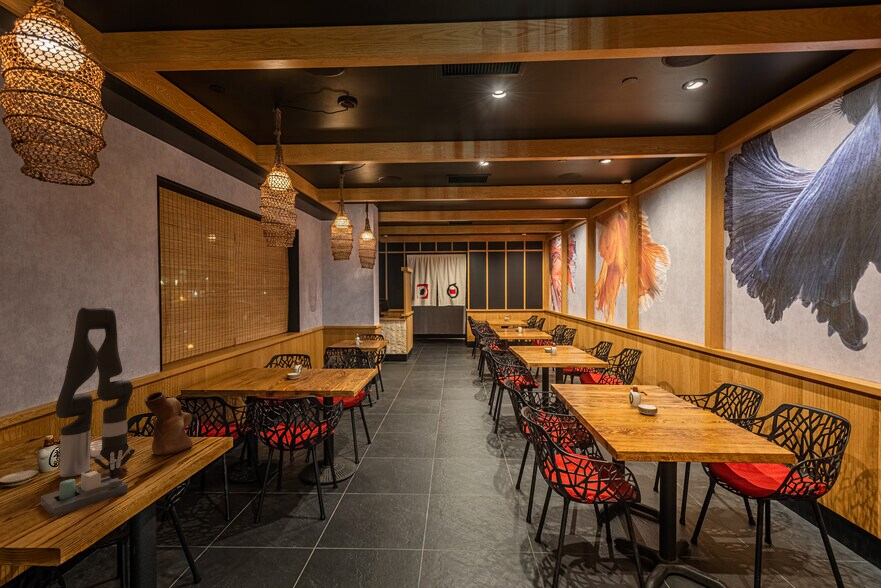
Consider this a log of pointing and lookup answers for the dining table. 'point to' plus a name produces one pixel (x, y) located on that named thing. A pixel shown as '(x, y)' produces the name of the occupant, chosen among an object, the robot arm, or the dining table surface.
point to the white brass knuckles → (95, 448)
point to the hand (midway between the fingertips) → (114, 478)
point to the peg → (67, 489)
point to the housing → (83, 497)
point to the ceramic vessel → (168, 424)
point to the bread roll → (106, 472)
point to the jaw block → (90, 480)
